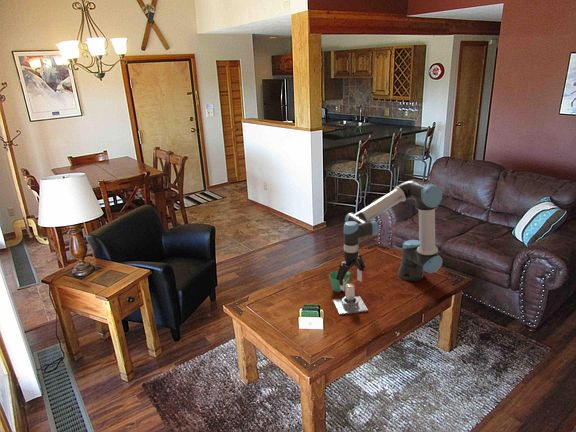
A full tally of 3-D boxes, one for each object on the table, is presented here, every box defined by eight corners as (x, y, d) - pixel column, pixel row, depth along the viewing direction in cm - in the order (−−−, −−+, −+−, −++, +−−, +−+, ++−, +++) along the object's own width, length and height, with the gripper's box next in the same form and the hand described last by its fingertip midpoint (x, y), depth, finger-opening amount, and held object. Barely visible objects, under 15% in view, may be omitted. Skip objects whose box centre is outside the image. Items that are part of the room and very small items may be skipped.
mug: (335, 295, 234) (335, 280, 230) (326, 288, 242) (325, 273, 238) (355, 288, 240) (355, 274, 237) (345, 281, 248) (345, 267, 245)
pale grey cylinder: (356, 304, 223) (356, 285, 218) (350, 308, 220) (350, 289, 215) (349, 301, 226) (349, 282, 222) (343, 304, 224) (343, 285, 219)
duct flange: (359, 297, 231) (360, 291, 230) (368, 311, 218) (368, 305, 217) (332, 301, 229) (332, 295, 228) (339, 315, 216) (339, 308, 215)
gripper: (361, 240, 221) (361, 274, 229) (328, 255, 207) (329, 291, 215) (372, 244, 215) (371, 279, 223) (339, 260, 201) (339, 296, 209)
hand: (351, 285), depth 219 cm, fingers open, 13 cm apart
